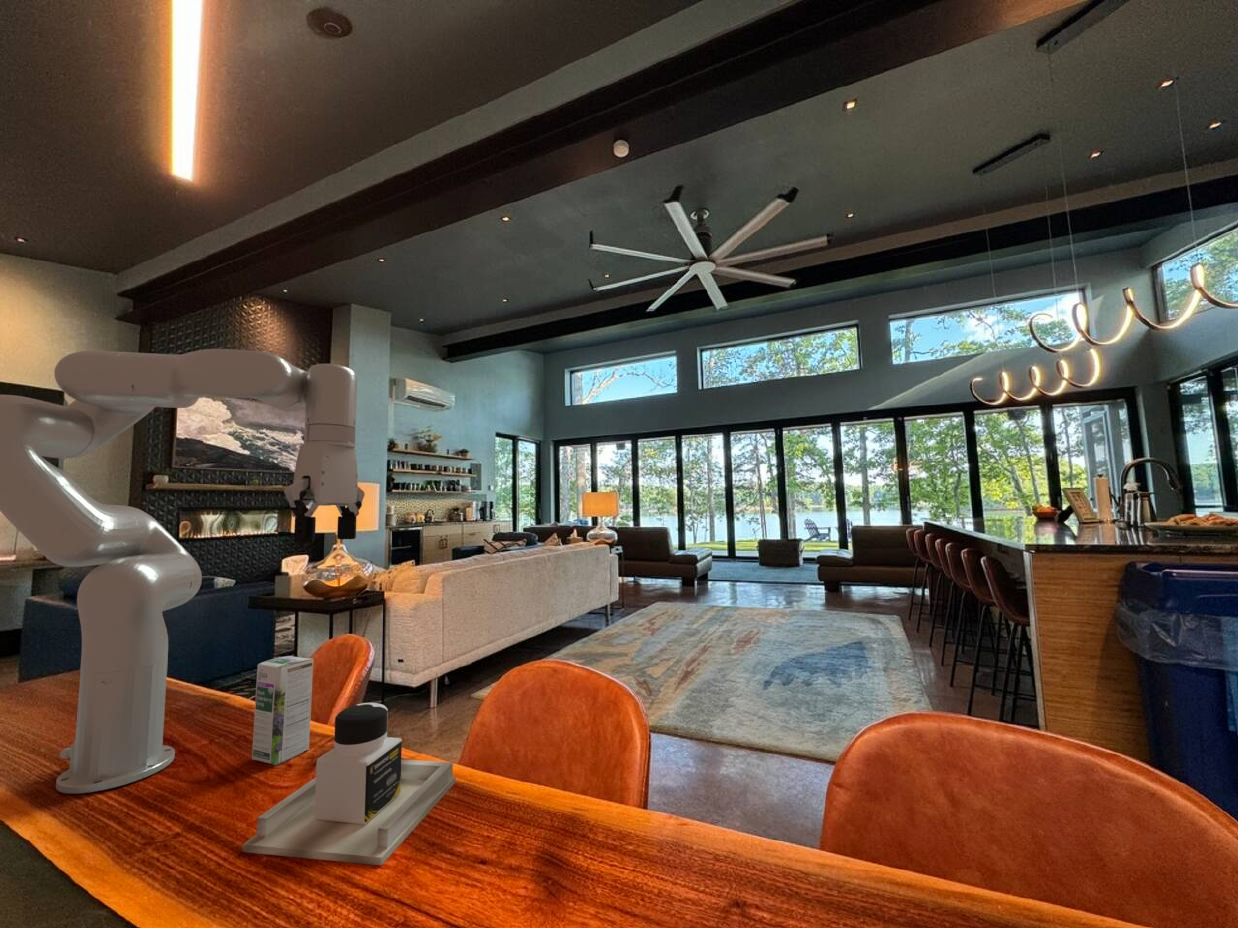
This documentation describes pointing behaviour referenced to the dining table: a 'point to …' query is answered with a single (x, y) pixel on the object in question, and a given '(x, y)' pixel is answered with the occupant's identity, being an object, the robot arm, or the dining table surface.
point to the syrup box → (282, 709)
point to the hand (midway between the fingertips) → (326, 540)
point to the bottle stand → (372, 843)
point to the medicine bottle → (358, 767)
